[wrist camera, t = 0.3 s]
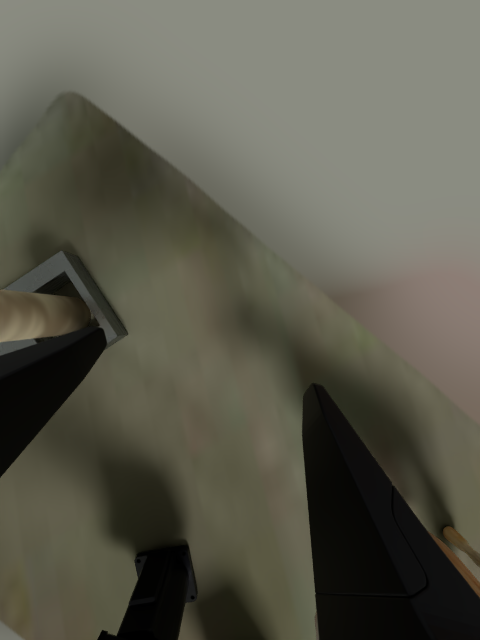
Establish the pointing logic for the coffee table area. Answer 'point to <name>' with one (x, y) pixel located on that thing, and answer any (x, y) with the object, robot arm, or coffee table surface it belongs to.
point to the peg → (40, 315)
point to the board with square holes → (54, 277)
